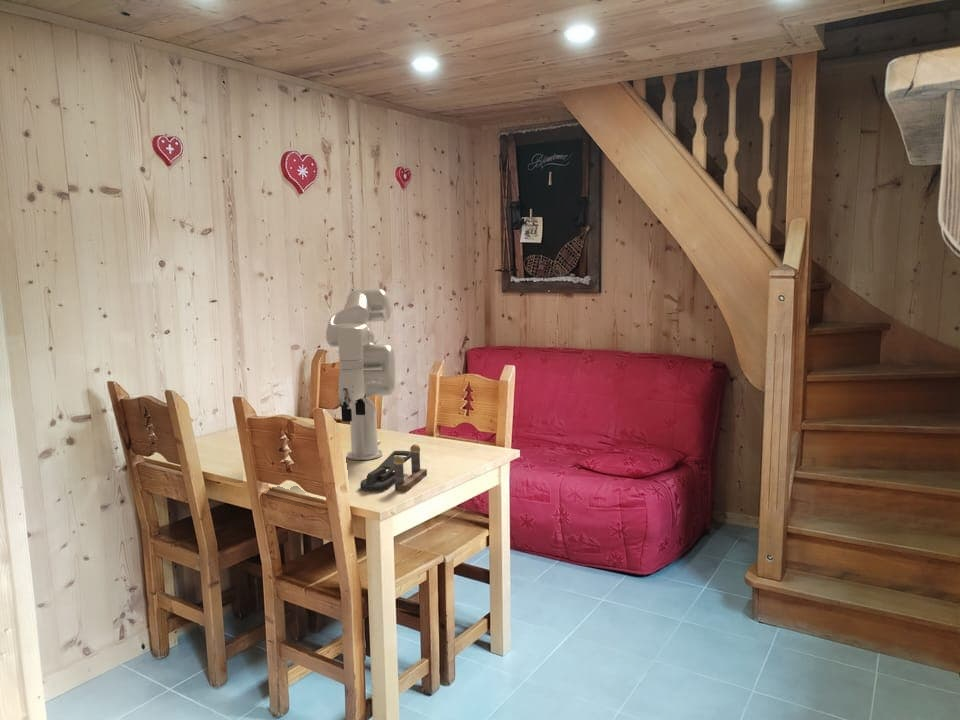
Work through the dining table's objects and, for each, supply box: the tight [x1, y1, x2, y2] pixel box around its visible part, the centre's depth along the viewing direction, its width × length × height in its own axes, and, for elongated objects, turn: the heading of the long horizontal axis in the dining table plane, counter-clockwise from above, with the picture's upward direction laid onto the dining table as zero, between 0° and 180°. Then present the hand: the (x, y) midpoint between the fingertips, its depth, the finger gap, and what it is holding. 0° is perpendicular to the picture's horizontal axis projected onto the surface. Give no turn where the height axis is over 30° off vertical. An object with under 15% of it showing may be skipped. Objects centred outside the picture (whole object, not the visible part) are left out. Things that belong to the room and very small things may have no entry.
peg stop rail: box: [393, 444, 428, 493], centre depth 210 cm, size 18×5×11 cm, turn 164°
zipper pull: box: [359, 450, 411, 493], centre depth 214 cm, size 9×7×25 cm
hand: (353, 417), depth 214 cm, fingers open, 9 cm apart
